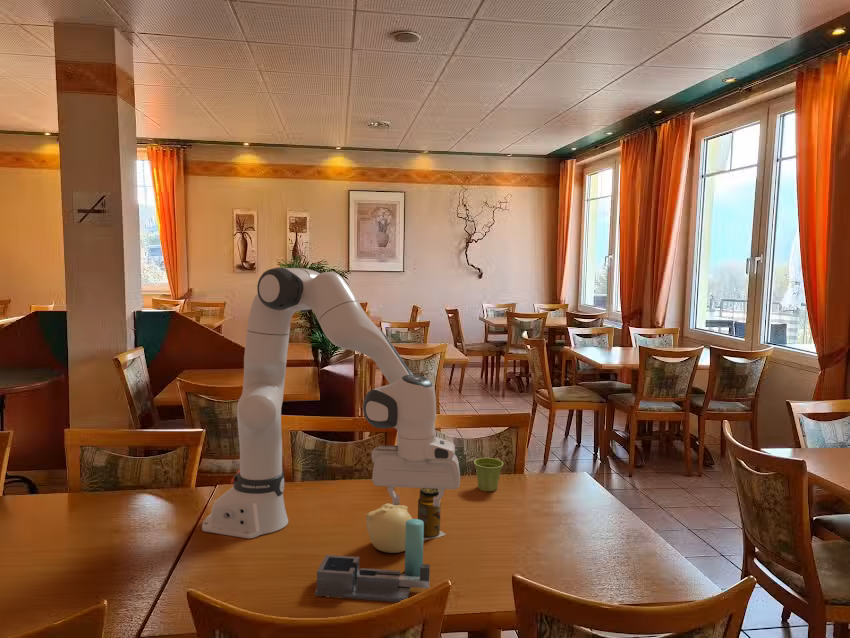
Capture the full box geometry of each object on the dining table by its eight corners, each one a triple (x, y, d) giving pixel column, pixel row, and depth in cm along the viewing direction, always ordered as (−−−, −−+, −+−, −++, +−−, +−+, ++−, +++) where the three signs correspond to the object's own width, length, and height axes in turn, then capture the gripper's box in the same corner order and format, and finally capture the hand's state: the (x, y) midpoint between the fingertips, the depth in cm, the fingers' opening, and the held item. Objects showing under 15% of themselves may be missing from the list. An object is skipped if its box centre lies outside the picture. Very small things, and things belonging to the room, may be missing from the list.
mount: (412, 578, 142) (412, 557, 141) (407, 602, 132) (407, 580, 131) (326, 573, 143) (326, 552, 143) (315, 596, 133) (315, 574, 133)
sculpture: (398, 533, 165) (399, 494, 164) (422, 551, 155) (423, 509, 154) (360, 542, 159) (360, 502, 158) (382, 562, 149) (383, 519, 148)
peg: (403, 576, 143) (404, 526, 142) (405, 567, 147) (406, 518, 146) (421, 577, 142) (422, 527, 141) (423, 568, 146) (424, 519, 145)
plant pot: (506, 486, 201) (507, 460, 200) (497, 496, 192) (498, 469, 192) (478, 481, 205) (479, 456, 204) (469, 491, 196) (469, 464, 195)
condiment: (446, 535, 165) (447, 491, 163) (419, 542, 160) (420, 497, 159) (431, 525, 171) (432, 482, 170) (405, 531, 166) (405, 488, 165)
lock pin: (429, 584, 137) (429, 564, 137) (428, 588, 135) (429, 568, 135) (375, 581, 138) (375, 561, 138) (374, 584, 136) (374, 564, 136)
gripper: (369, 449, 139) (369, 508, 141) (460, 452, 138) (459, 512, 139) (373, 441, 146) (373, 497, 147) (460, 443, 144) (460, 501, 145)
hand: (416, 505), depth 143 cm, fingers open, 8 cm apart
